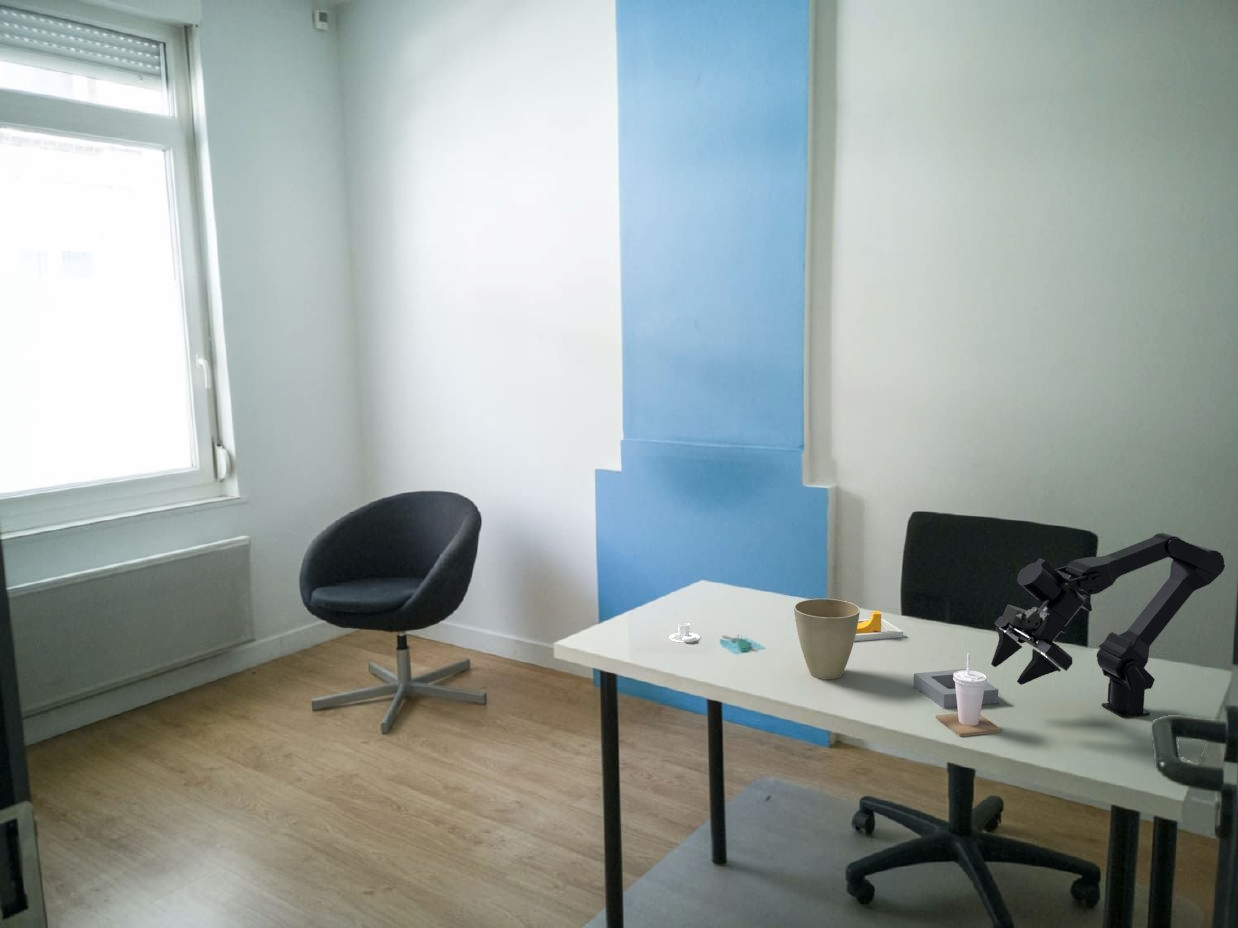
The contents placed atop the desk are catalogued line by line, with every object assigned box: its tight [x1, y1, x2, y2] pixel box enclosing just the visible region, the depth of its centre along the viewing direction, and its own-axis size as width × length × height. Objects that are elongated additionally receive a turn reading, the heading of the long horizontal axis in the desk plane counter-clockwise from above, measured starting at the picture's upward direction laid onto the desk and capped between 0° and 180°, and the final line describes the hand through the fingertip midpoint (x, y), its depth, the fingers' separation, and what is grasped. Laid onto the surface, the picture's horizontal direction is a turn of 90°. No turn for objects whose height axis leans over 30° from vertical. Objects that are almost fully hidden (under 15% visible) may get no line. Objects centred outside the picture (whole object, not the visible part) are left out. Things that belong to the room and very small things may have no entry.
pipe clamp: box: [856, 610, 882, 634], centre depth 240 cm, size 12×4×6 cm, turn 81°
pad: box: [935, 712, 1003, 737], centre depth 183 cm, size 9×9×1 cm
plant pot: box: [793, 598, 861, 680], centre depth 211 cm, size 15×15×16 cm
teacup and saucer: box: [669, 622, 701, 643], centre depth 240 cm, size 9×8×4 cm
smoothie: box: [953, 653, 988, 726], centre depth 182 cm, size 6×6×14 cm
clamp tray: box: [854, 617, 904, 642], centre depth 242 cm, size 12×18×2 cm, turn 101°
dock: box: [912, 668, 999, 709], centre depth 199 cm, size 13×13×3 cm
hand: (1005, 674), depth 184 cm, fingers open, 9 cm apart
